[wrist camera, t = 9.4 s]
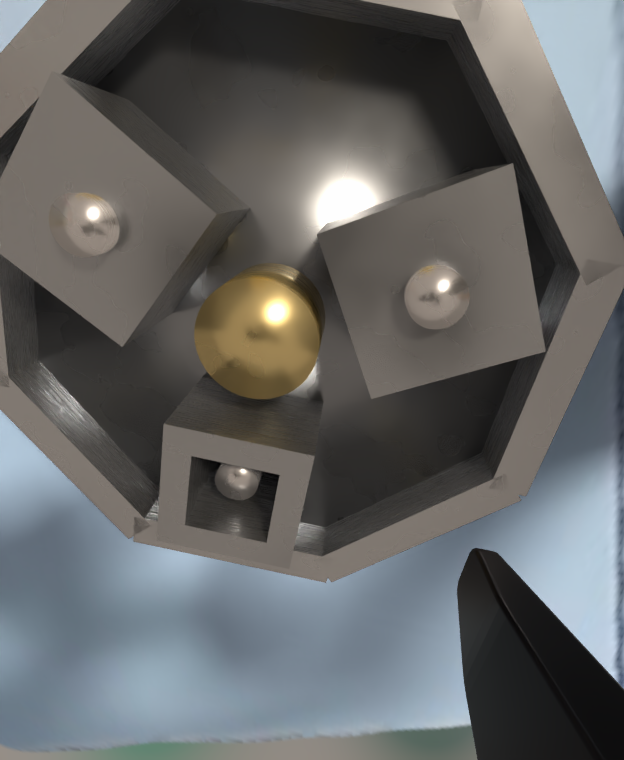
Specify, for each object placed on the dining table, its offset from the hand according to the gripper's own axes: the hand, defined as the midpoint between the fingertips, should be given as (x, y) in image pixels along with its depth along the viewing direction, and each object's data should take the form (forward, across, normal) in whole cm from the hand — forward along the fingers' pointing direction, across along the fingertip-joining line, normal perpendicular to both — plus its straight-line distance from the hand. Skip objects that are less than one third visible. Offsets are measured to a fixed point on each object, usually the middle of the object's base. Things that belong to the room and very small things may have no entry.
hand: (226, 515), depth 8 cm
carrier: (+11, +1, -1) cm, 11 cm away
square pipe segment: (+10, +1, +5) cm, 11 cm away
